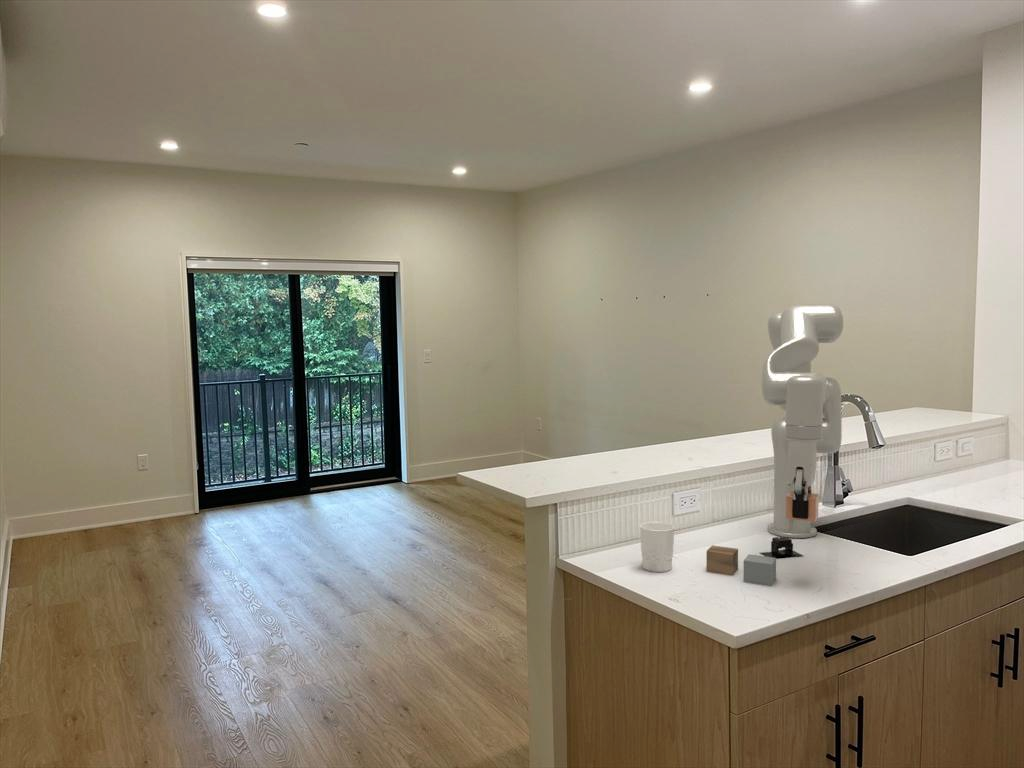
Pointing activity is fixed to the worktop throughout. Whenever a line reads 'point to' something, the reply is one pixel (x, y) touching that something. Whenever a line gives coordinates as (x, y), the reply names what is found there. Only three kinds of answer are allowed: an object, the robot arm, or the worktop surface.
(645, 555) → the white cup
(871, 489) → the worktop surface
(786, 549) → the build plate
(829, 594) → the worktop surface
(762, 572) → the slate grey block
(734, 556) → the walnut block
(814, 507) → the terracotta block
